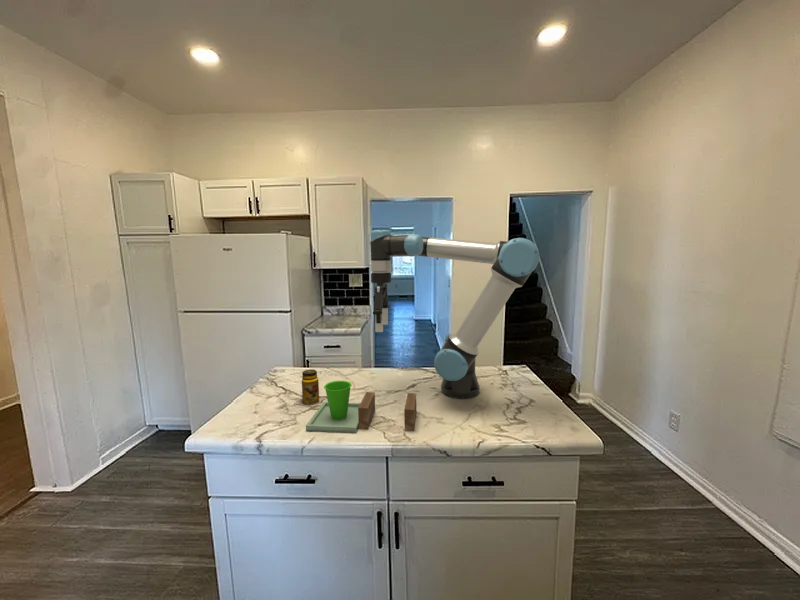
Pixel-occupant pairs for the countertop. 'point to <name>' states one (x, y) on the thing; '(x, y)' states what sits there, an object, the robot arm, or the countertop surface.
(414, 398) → the holder
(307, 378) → the condiment
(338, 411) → the cup
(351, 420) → the tray
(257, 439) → the countertop surface
